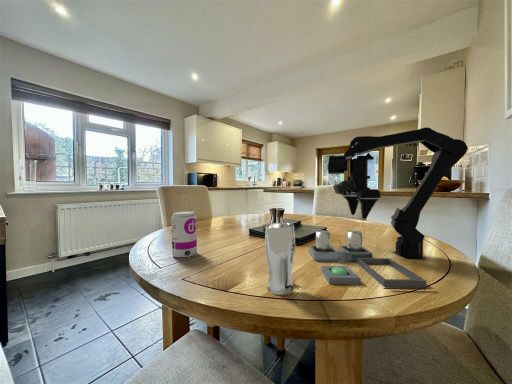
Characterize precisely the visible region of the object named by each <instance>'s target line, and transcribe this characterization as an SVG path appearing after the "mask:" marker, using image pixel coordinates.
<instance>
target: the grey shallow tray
mask: <svg viewBox="0 0 512 384" xmlns="http://www.w3.org/2000/svg"><path fill="white" fill-rule="evenodd" d="M308 254H309V255H310V256H311V258H312V261H314V262H316V263H317V264H318V263H320V264H321V263H323V264H324V263H329V264H331V263H335V264H337V263H339V264H341V263H343V264H345V263H347V264H348V263H349V264H351V263H353V264H354V263H355V264H357V258H373V252H372V251H370V250H368V248H366V247H364V246H362V252H348V251H347V245H338V251H337V249H336V248H334V247H333V246H332V245H330V252H316V245H308Z"/></svg>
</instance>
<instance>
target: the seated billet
mask: <svg viewBox="0 0 512 384" xmlns="http://www.w3.org/2000/svg"><path fill="white" fill-rule="evenodd" d="M315 246H316V252H330V246H331V232H330V231H328V230H316V231H315Z"/></svg>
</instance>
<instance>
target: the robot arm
mask: <svg viewBox="0 0 512 384" xmlns="http://www.w3.org/2000/svg"><path fill="white" fill-rule="evenodd" d="M416 143H420V144H421V145H422V146H424V147H425V148H426V149H427V150H429V151H430V152H432V153H433V155H432V157H431V162H430V166H429V168H428V170H427V172H426V173H425V175H424V177H423V178H422V180H421V181H420V182H419V184H418V186H417V188H416V189H415V191H414V192H413V194H412V196H411V197H410V198H409V200H408V202H407V204H406V205H405V206H404V207H402V208H401V209H400V208H399V207H396V209H395V211H394V213H393V214H392V215H391V216H390V218H391V222H390V224H391V227H392V228H393V229H394V231H395V232H396V233H397V234H398V235H399V236H396V241H395V251H394V252H393V253H394V254H396V255H397V256H400V257H401V258H402V259H405V260H427V258H426V257H424V239H425V235H424V234H423V233H422V232H420V230H418V229H417V227H418V223H419V221H420V215H421V212H422V210H423V208H424V207H425V206H426V204H427V202H428V201H429V200H430V198H431V197H432V195H433V193H434V192H435V190H436V188H437V187H438V186H439V184H440V183H441V181H442V179H444V176H445V175H446V173H447V172H448V171H449V170H450V169H451V168H452V167H454V166H455V165H456V164H458V162H459V161H460V160H461V159H462V158H463V157H464V156H465V155H466V154H467V153H468V150H469V146H468V144H467V143H466V142H465V140H463V139H458V138H452V137H451V136H449V135H447V134H443V133H441V132H438V131H436V130H435V129H432V128H430V127H428V126H426V127H421V128H419V129H413V130H408V131H402V132H396V133H392V134H391V133H390V134H387V135H386V134H385V135H381V136H380V135H379V136H373V135H365V136H363V135H360V136H356V137H353V138H352V140H351V141H350V143H349V148H348V149H347V151H345V152H344V155H329V157H328V164H327V173H328V175H338V174H339V175H342V174H345V173H346V172H347V171H349V176H347V178H346V180H343V181H340V182H339V183H336V184H333V185H332V187H333V190H334V193H335V194H336V195H341V196H342V198H343V199H345V200H346V202H347V203H348V209H349V211H350V215H352V216H355V215H356V212H357V208H358V206H359V204H360V213H361V217H362V219H363V220H366V219H367V217H369V214H370V212H371V211H372V210H373V207H374V206H375V205H376V203H377V202H378V201H379V199H380V198H381V197H382V196H381V193H382V192H381V190H379V189H377V188H370V187H369V186H368V183H369V182H368V181H369V179H371V176H370V175H368V171H369V170H368V168H369V167H368V164H369V161H373V160H374V158H375V157H374V156H372V155H371V154H370V152H373V151H376V150H380V149H384V148H389V147H391V148H392V147H398V146H403V145H404V146H405V145H409V144H416ZM355 156H356V158H354V157H355Z"/></svg>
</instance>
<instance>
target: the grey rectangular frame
mask: <svg viewBox="0 0 512 384" xmlns="http://www.w3.org/2000/svg"><path fill="white" fill-rule="evenodd" d="M356 264H357V265H358V266H359V267H360V268H362V269H363V270H364V271H365V272H366V273H367V274H369V275H370V276H371V277H372V278H373V280H375V281H377V282H378V283H379V284H380V285H381V286H382V289H383V290H415V291H416V290H418V291H425V290H427V280H426V279H424V278H423V277H421V276H420V275H417V274H416V273H414V272H412V271H411V270H410V269H408V268H406V267H404V266H403V265H401V264H399V263H398V262H396V261H394V260H393V259H391V258H388V257H384V258H383V257H382V258H381V257H379V258H377V257H372V258H357V263H356ZM370 265H389V266H390V267H391V268H393V269H394V270H396V271H397V272H398V273H401V274H402V275H403V276H406V278H407V279H404V278H402V279H401V278H399V279H398V278H396V279H393V278H385V277H384V276H382V275H381V274H380V273H378V272H377V271H376V270H375V269H374V268H372V267H371V266H370Z"/></svg>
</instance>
